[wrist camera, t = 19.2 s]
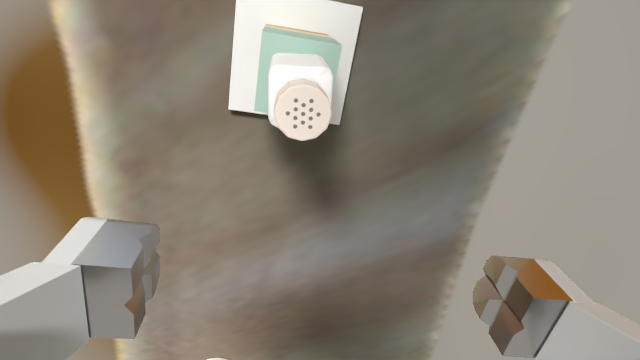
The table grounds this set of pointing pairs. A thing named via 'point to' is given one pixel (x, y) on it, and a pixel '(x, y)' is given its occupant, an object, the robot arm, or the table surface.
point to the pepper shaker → (299, 94)
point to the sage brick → (291, 43)
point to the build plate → (295, 12)
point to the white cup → (216, 359)
